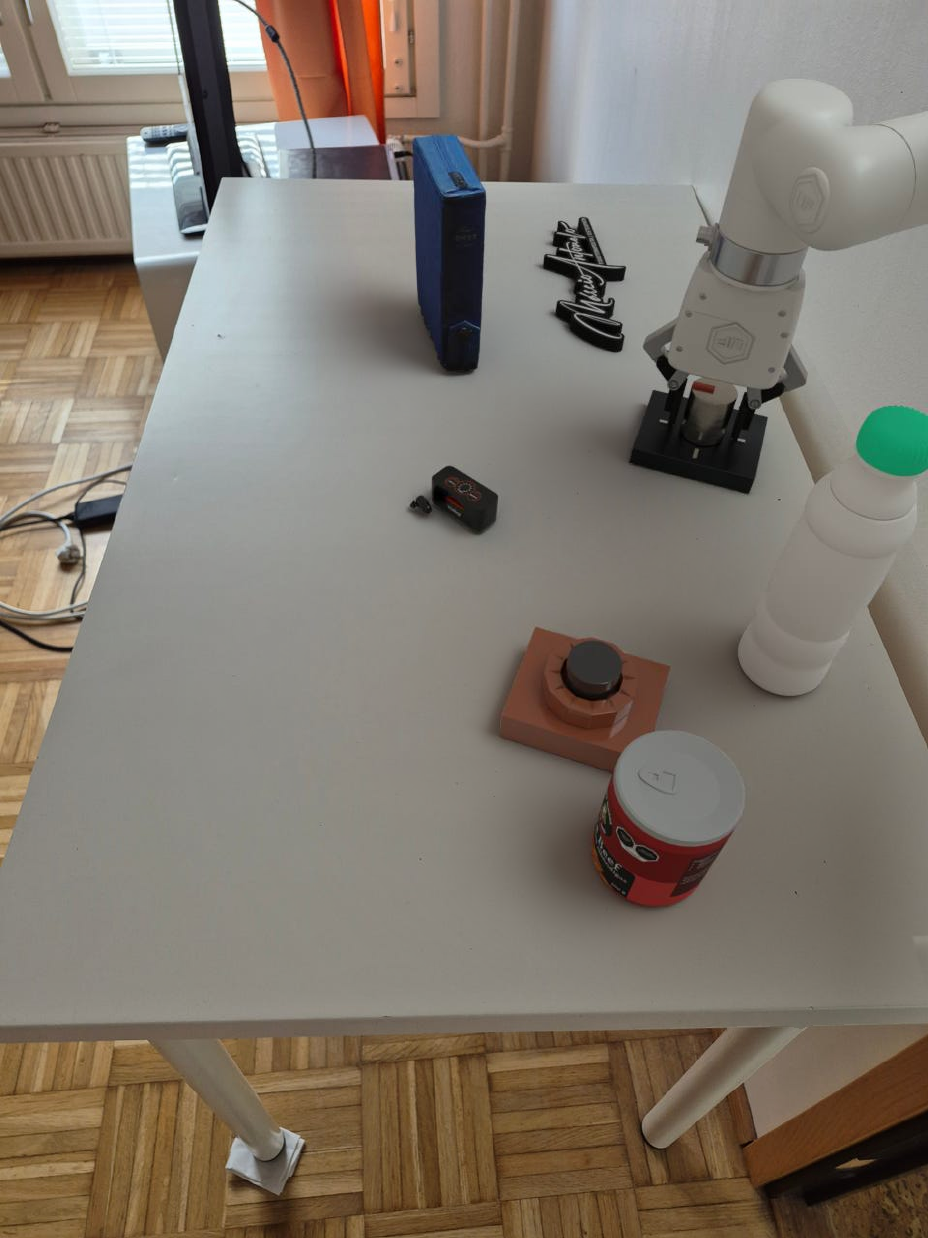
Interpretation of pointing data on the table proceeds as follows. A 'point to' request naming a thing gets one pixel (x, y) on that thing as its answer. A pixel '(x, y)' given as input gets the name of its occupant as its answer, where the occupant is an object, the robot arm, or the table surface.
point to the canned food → (665, 817)
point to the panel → (697, 449)
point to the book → (449, 248)
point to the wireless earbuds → (461, 499)
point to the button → (593, 670)
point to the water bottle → (838, 554)
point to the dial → (708, 411)
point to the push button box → (580, 704)
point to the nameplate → (586, 285)
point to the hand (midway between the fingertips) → (704, 423)
